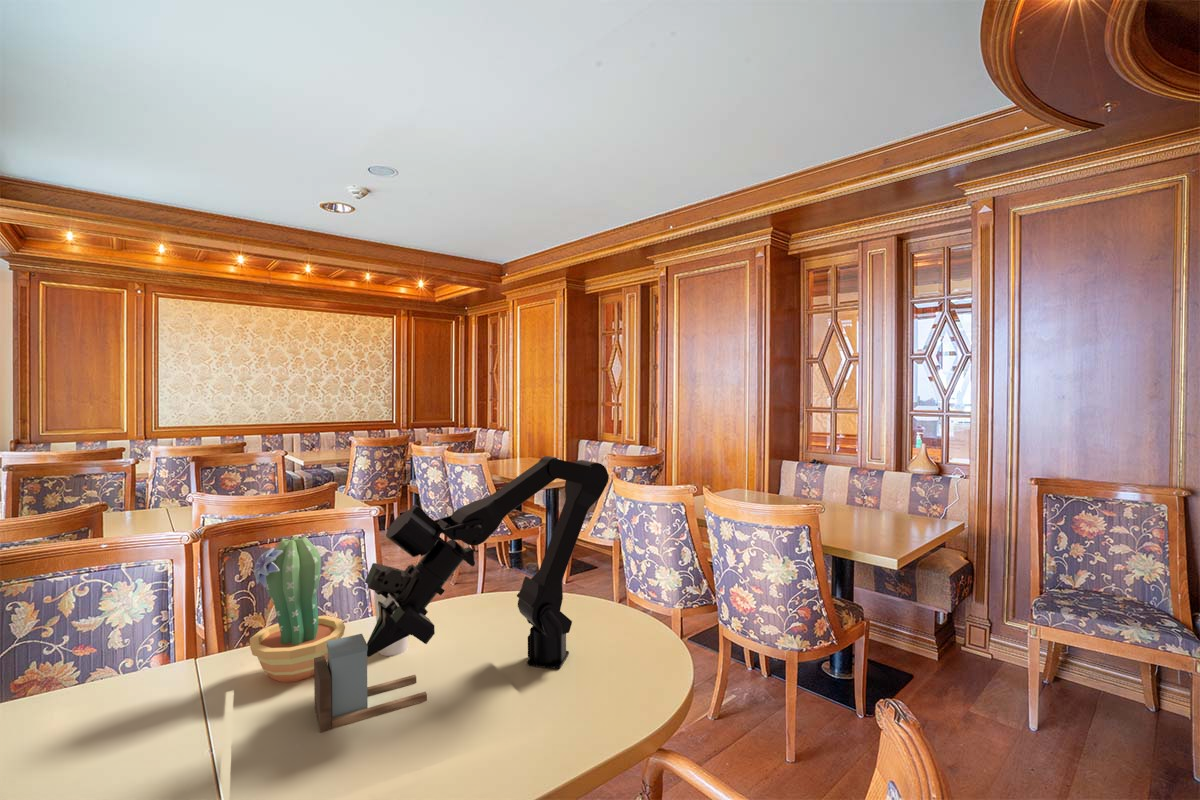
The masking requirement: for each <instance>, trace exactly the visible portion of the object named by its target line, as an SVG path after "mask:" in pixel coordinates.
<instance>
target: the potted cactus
mask: <svg viewBox="0 0 1200 800" xmlns="http://www.w3.org/2000/svg"><path fill="white" fill-rule="evenodd" d="M321 564H322V555H321V554H320V552H319V550H318V548H316V546H315V545H314V544H313V543H312V542H311V541H310V540H309V539H308V538H307V537H306V536H305V535H304V536H302V537H298V536H295V535H294V536H293V537H291V538H290V539H288V538H282V539H281V540H280V542H278V545H277V546H276V548H275V547H272V548H271V549H269V550H266V551H265V552H263V554H260V556H259V557H258V559H257V560H256V563H255V564H254V566H253V567H254V568H253V572H254V573H253V575H254V577H255V583H256V584H257V585H258V584H259V583H260V584H261V585H262V586H263V587H264V588H266V592H267V594H268V596H269V597H270V599H271V601H272V603H273V605H274V609H275V615H276V619H277V623H274V624H272V625H269V626H266V627H263V628H261V629H260V630H259V631H258V632H256V633H255V634H254V635H252V636H251V637H250V638H249V647H250V650H251V654H252V656H255V657H257V660H258V662H259V664H260V666H261V668H262V670H263V671H264V672H265V674H267V675H268V676H269V677H270V678H271V679H272V680H275V681H278V682H279V683H280V682H281V683H282V682H283V683H285V682H290V683H291V682H297V681H301V680H304V679H308V678H311V677H312V676H313V677H314V658H317V657H321V656H325V659H326V662H327V664H328V648H327V641H330V640H334V639H339V638H343V636H344V635H345V630H346V625H345V623H344V621H343V619H341V618H338V617H335V616H334V617H333V616H329V615H319V612H318V611H319V607H318V598H317V594H318V593H317V592H318V588H319V584H320V580H321V570H322V567H321V566H322V565H321Z"/></svg>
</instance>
